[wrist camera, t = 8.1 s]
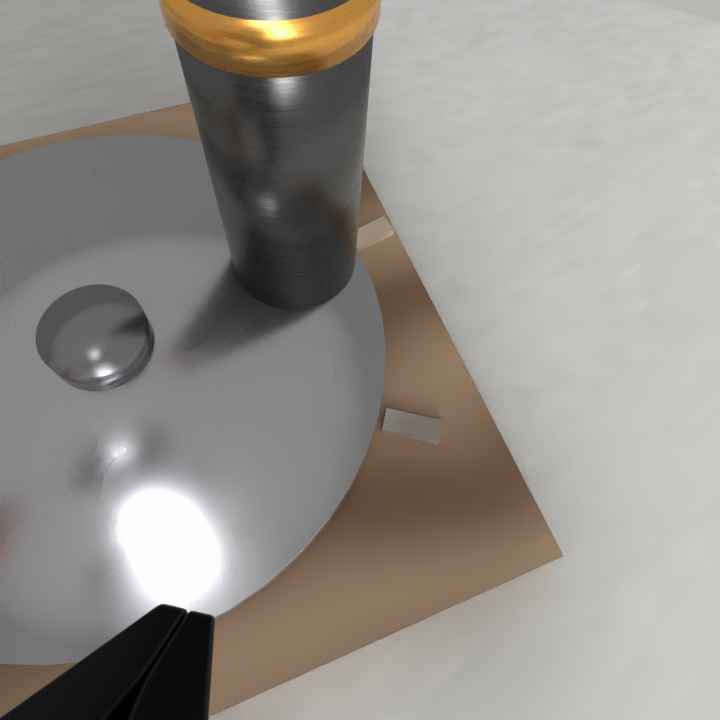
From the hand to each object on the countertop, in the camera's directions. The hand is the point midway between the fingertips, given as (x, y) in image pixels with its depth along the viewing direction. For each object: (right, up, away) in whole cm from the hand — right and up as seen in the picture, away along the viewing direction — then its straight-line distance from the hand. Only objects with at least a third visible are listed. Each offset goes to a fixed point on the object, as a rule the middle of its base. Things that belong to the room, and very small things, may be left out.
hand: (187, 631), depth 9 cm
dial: (-5, +4, +10) cm, 12 cm away
